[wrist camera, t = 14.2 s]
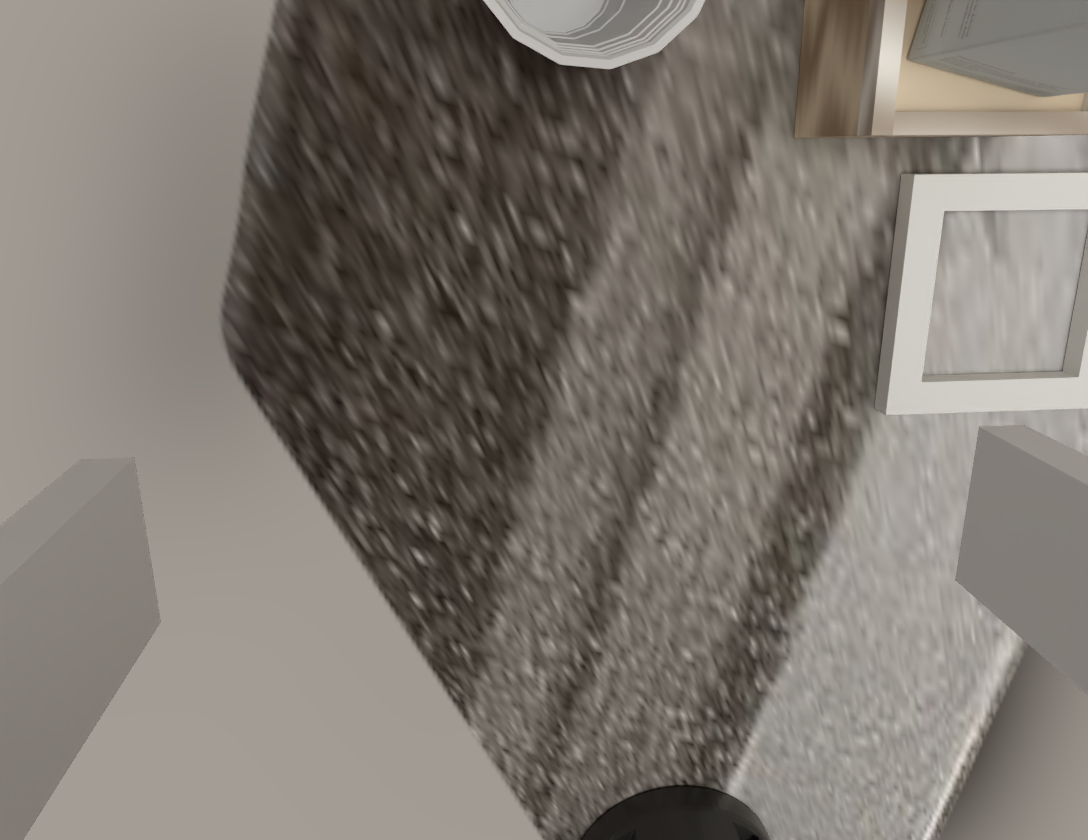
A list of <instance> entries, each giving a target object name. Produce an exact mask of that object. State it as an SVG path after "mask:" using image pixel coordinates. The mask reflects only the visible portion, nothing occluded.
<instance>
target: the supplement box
mask: <svg viewBox="0 0 1088 840" xmlns="http://www.w3.org/2000/svg"><path fill="white" fill-rule="evenodd" d="M908 59H909V60H910V61H914V62H917V63H921V64H924V65H928V66H931V67H935V68H938V69H942V70H946V71H950V72H953V73H956V74H959V75H963V76H967V77H971V78H975V79H978V80H981V81H985V82H989V83H992V84H996V85H999V86H1003V87H1006V88H1010V89H1014V90H1017V91H1021V92H1024V93H1028V94H1031V95H1035V96H1039V97H1050V96H1058V95H1067V94H1077V93H1087V92H1088V0H926V3H925V7H924V10H923V13H922V16H921V19H920V22H919V26H918V29H917V32H916V35H915V38H914V41H913V44H912V48H911V51H910V54H909V57H908Z"/></svg>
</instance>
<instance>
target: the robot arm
mask: <svg viewBox="0 0 1088 840" xmlns="http://www.w3.org/2000/svg"><path fill="white" fill-rule="evenodd" d="M955 580H956V581H957V582H958V583H959V584H960V585H962V586H963V587H964V588H965V589H966V590H967V591H968V592H970V593H971V594H972V595H973V596H974V597H975V598H976V599H978V600H979V601H980V602H981V603H982V604H983V605H984V606H986V607H987V608H988V609H989V610H990V611H991V612H992V613H994V614H995V615H996V616H997V617H998V618H999V619H1000V620H1002V621H1003V622H1004V623H1005V624H1006V625H1007V626H1008V627H1010V628H1011V629H1012V630H1013V631H1014V632H1015V633H1016V634H1018V635H1019V636H1020V637H1021V638H1022V639H1023V640H1024V641H1026V642H1027V643H1028V644H1029V645H1030V646H1031V647H1033V648H1034V649H1035V650H1036V651H1037V652H1038V653H1039V654H1040V655H1042V656H1043V657H1044V658H1045V659H1046V660H1048V661H1049V662H1050V663H1051V664H1052V665H1053V666H1054V667H1055V668H1057V669H1058V670H1059V671H1060V672H1061V673H1062V674H1064V675H1065V676H1066V677H1067V678H1068V679H1069V680H1070V681H1072V682H1073V683H1074V684H1075V685H1076V686H1077V687H1079V689H1081V690H1082V691H1083V692H1084V693H1085V694H1086V695H1088V456H1086V455H1084V454H1082V453H1080V452H1078V451H1076V450H1074V449H1072V448H1070V447H1068V446H1066V445H1064V444H1062V443H1060V442H1058V441H1056V440H1054V439H1052V438H1049V437H1047V436H1045V435H1043V434H1041V433H1039V432H1037V431H1035V430H1033V429H1031V428H1029V427H1027V426H1025V425H1012V426H984V427H979V431H978V437H977V444H976V450H975V457H974V463H973V469H972V476H971V482H970V489H969V495H968V502H967V508H966V515H965V521H964V528H963V534H962V540H961V547H960V553H959V560H958V566H957V573H956V579H955ZM160 622H161V621H160V614H159V608H158V601H157V595H156V589H155V583H154V577H153V571H152V564H151V558H150V552H149V546H148V540H147V534H146V527H145V521H144V514H143V508H142V502H141V496H140V490H139V483H138V477H137V471H136V465H135V459H134V458H111V459H86V460H85V459H83V460H79V461H78V462H77V463H76V464H75V465H73V466H72V467H71V468H70V469H68V470H67V471H66V472H65V473H63V474H62V475H61V476H60V477H59V478H57V479H56V480H55V481H54V482H52V483H51V484H50V485H49V486H48V487H46V488H45V489H44V490H43V491H42V492H40V493H39V494H38V495H37V496H35V497H34V498H33V499H32V500H31V501H29V502H28V503H27V504H26V505H24V506H23V507H22V508H21V509H20V510H18V511H17V512H16V513H15V514H14V515H13V516H11V517H10V518H9V519H7V520H6V521H5V522H4V523H3V524H2V525H0V840H23V839H24V838H25V836H26V834H27V833H28V831H29V830H30V828H31V827H32V825H33V823H34V822H35V820H36V819H37V817H38V816H39V814H40V812H41V811H42V809H43V808H44V806H45V805H46V803H47V801H48V800H49V798H50V797H51V795H52V793H53V792H54V790H55V789H56V787H57V785H58V784H59V782H60V781H61V779H62V777H63V776H64V774H65V773H66V771H67V770H68V768H69V767H70V765H71V763H72V762H73V760H74V759H75V757H76V755H77V754H78V752H79V751H80V749H81V747H82V746H83V744H84V743H85V741H86V740H87V738H88V736H89V734H90V733H91V732H92V730H93V728H94V727H95V725H96V724H97V722H98V720H99V719H100V717H101V716H102V714H103V713H104V711H105V710H106V708H107V706H108V705H109V703H110V702H111V700H112V698H113V697H114V695H115V694H116V692H117V690H118V689H119V687H120V686H121V684H122V683H123V681H124V679H125V678H126V676H127V675H128V673H129V672H130V670H131V668H132V666H133V665H134V663H135V662H136V660H137V659H138V657H139V656H140V654H141V652H142V651H143V649H144V648H145V646H146V645H147V643H148V641H149V640H150V638H151V637H152V635H153V634H154V632H155V630H156V629H157V627H158V626H159V624H160ZM582 840H770V838H769V836H768V833H767V831H766V829H765V827H764V826H763V824H762V822H761V821H760V820H759V818H758V817H757V816H756V815H755V813H753V812H752V811H751V810H750V809H749V808H748V807H747V806H746V805H744V804H743V803H741V802H740V801H738V800H736V799H735V798H733V797H731V796H729V795H726V794H724V793H721V792H718V791H714V790H710V789H706V788H699V787H670V788H663V789H658V790H654V791H650V792H647V793H643V794H641V795H638V796H635V797H633V798H631V799H629V800H627V801H625V802H623V803H621V804H619V805H618V806H616V807H614V808H613V809H611V810H610V811H609V812H607V813H606V814H605V815H603V816H602V817H601V818H600V819H599V820H598V821H597V822H596V823H595V824H594V825H593V826H592V827H591V828H590V829H589V830H588V832H587V833H586V834H585V836H584V837H583V838H582Z"/></svg>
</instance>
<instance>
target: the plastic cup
mask: <svg viewBox="0 0 1088 840" xmlns="http://www.w3.org/2000/svg"><path fill="white" fill-rule="evenodd" d="M483 1H484V2H485V3H486V4H487V6H488V7H489V8H490V10H491V11H492V12H493V13H494V15H495V16H496V17H497V18H498V20H499V21H500V22H501V23H502V25H503V26H504V27H505V29H506V30H507V31H508V32H509V34H510V35H511V36H512V37H513V38H514V39H516V40H517V41H519V42H521V43H523V44H524V45H526V46H528V47H530V48H531V49H533V50H535V51H537V52H539V53H540V54H542V55H544V56H546V57H547V58H549V59H551V60H553V61H554V62H556V63H558V64H560V65H570V66H581V67H591V68H602V69H613V68H616V67H618V66H621V65H624V64H627V63H630V62H633V61H635V60H638V59H641V58H644V57H647V56H650V55H653V54H655V53H658V52H659V51H661V50H662V49H663V48H664V47H665V46H666V45H667V44H668V43H669V42H670V41H671V40H672V39H673V38H675V37H676V36H677V35H678V34H679V33H680V32H681V31H682V30H683V29H684V28H685V27H686V26H688V25H689V24H690V23H691V22H692V21H693V20H694V19H695V18H696V17H697V16H698V14H699V12H700V10H701V8H702V6H703V4H704V2H705V0H483Z"/></svg>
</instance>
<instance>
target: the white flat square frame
mask: <svg viewBox="0 0 1088 840" xmlns="http://www.w3.org/2000/svg"><path fill="white" fill-rule="evenodd" d="M1060 209H1088V172H1036V173H935V174H901V182H900V191H899V199H898V208H897V217H896V225H895V234H894V243H893V251H892V260H891V269H890V277H889V286H888V295H887V303H886V312H885V321H884V329H883V338H882V347H881V356H880V364H879V373H878V382H877V390H876V399H875V409H877V410H878V411H880V412H882V413H883V414H885V415H906V414H934V413H963V412H991V411H1020V410H1048V409H1077V408H1088V233H1087V238H1086V244H1085V249H1084V255H1083V260H1082V266H1081V271H1080V277H1079V282H1078V288H1077V293H1076V299H1075V304H1074V310H1073V315H1072V321H1071V326H1070V332H1069V337H1068V343H1067V348H1066V354H1065V359H1064V365H1063V370H1062V371H1052V372H1020V373H987V374H955V375H923V368H924V361H925V353H926V345H927V338H928V330H929V323H930V315H931V307H932V300H933V292H934V285H935V277H936V269H937V262H938V254H939V247H940V239H941V231H942V224H943V216H944V211H988V210H1060Z"/></svg>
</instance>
